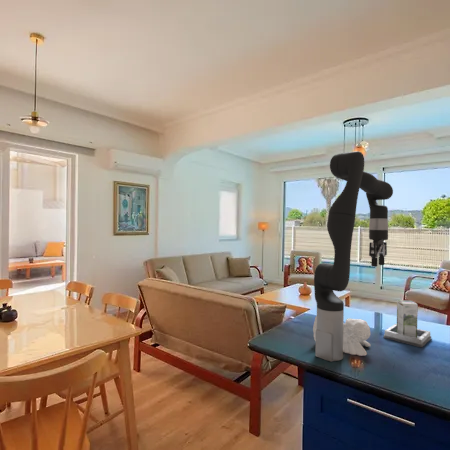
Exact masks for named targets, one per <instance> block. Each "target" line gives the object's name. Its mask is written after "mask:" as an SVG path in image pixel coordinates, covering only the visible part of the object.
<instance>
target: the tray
mask: <svg viewBox="0 0 450 450" xmlns="http://www.w3.org/2000/svg"><path fill="white" fill-rule="evenodd" d="M383 339H387V340H391V341H395V342H397V343H398V342H399V343H403V344H406V345H411V346H413V347H418V348H423V347H425V346H426V344H428V342H429V341H431V340H432V336H431V331H429V330H424V329H421V328H417V338H416V337H412V336H408V335H404V334H400V333H397V323H394V324H393V325H391V326H389V327H388V328H387V329H385V330H384V334H383Z"/></svg>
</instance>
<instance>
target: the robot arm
mask: <svg viewBox="0 0 450 450" xmlns="http://www.w3.org/2000/svg"><path fill="white" fill-rule="evenodd" d="M329 169H330V172H331V174H332V175H333V176H334V177H335V178H337V179H340V180H343V181H345V182H346V183H345V185H344V188H343V190H342V191H341V192H340V194H339V195H338V196H337V198H336V199H335V200H334V202H333V203H332V204H331V206H330V208H329V210H328V216H327V223H326V226H327V227H326V228H327V232H328V235H329V238H330V240H331V243H332V246H333V250H334V256H333V257H334V258H333V263H330V262H329V263H328V262H321V263H319V264H318V265H317V266H316V267H315V270H314V273H313V274H314V275H313V283H314V284H313V288H314V300H315V302H316V316H317V330H316V341H315V350H314V351H315V357H317V358H319V359H322V360H325V361H327V362H336V361H341V360H343V359H344V352H343V321H344V316H345V314H344V307H345V305H344V304H345V303H344V301H343V300H342V299H341V298H340V297H339V296H337V294H336V293H335V292H343V291H345V290H346V288H347V287H348V284H349V282H350V274H351V273H350V272H351V252H352V251H351V250H352V240H353V235H354V230H355V228H354V227H355V223H356V222H355V221H356V214H357V205H358V204H357V203H358V200H359V199H358V197H359V192H360V190H362V191H363V192H364V193H365V196H366V199H367V203H368V207H369V223H368V239H369V240H372V242H371V241H370V242H369V246H368V247H369V248H368V249H369V250H368V251H369V254H368V256H369V257H370V258H371V262H370V263H371V267H375V268H376V267H378V265H379V266H385V258H386V256H387V255H388V252H387V251H388V245H387V244H388V243H387V241H388V240H389V220H388V219H389V218H388V217H389V216H388V215H389V214H388V213H389V211H388V210H389V209H388V206H386V205H383V204H378V202H377V201H383V200H389V199H391V198H392V196H393V194H394V188H393V186H392V185H391V184H390V183H388V182H387V181H384V180H381V179H378V178H377V176H375V175H373V174H371V173H370V172H367V171H364V170H365V156H364V154H363V153H362V152H361V151H360V150H358V151H356V150H355V151H354V150H353V151H347V152H343V153H341V152H340V153H337V154H334V155H333V156H331V158H330V163H329Z"/></svg>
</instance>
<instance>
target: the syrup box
mask: <svg viewBox="0 0 450 450" xmlns="http://www.w3.org/2000/svg"><path fill="white" fill-rule="evenodd" d="M418 306H419V305H418V303H416V301H414V300H405V299H404V300H399V299H397V300H396V324H397V333H400V334H404V335H408V336H412V337H416V338H417V329H418V316H419V315H418V314H419V313H418V308H419V307H418Z"/></svg>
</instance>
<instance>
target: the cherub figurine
mask: <svg viewBox="0 0 450 450" xmlns="http://www.w3.org/2000/svg"><path fill="white" fill-rule="evenodd" d="M316 330H317V315H316V316H315V318H314V322H313V327H312V332H313V339H314V341H315V342H316ZM370 337H371V328H370V325H369V323H368V322H367V321H366V320H363V319H360V318H347V319H346V320H345V322H344V320H343V354H344V353H345V354H350V355H351V356H354V355H357V356H360V357H364V356H367V355H368V353H367V351H366V349H365V348H364V347H366V348H370V347H371V343H370V342H368V341H367V340H368V339H369V338H370Z"/></svg>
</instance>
